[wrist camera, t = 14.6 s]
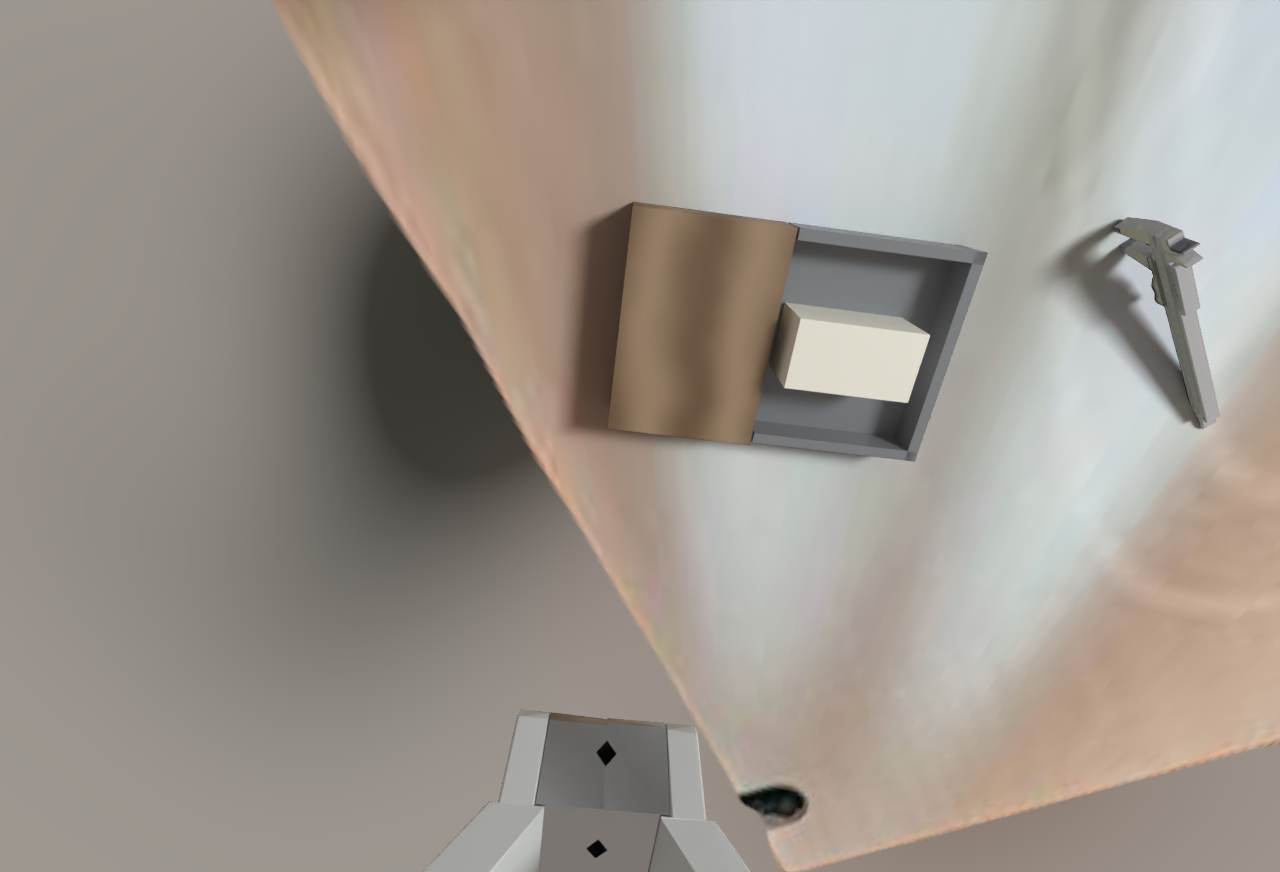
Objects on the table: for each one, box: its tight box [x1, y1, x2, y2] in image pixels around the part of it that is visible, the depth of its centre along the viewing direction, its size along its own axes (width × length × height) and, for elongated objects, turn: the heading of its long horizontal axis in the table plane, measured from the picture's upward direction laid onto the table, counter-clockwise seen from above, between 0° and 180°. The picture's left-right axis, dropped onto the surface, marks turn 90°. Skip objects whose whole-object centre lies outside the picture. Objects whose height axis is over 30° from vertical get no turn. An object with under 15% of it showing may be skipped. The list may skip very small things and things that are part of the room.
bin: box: [751, 223, 988, 461], centre depth 46 cm, size 13×16×4 cm
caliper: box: [1113, 217, 1220, 429], centre depth 45 cm, size 20×1×6 cm, turn 38°
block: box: [771, 302, 930, 403], centre depth 45 cm, size 5×5×9 cm
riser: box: [607, 202, 798, 445], centre depth 45 cm, size 11×16×4 cm
